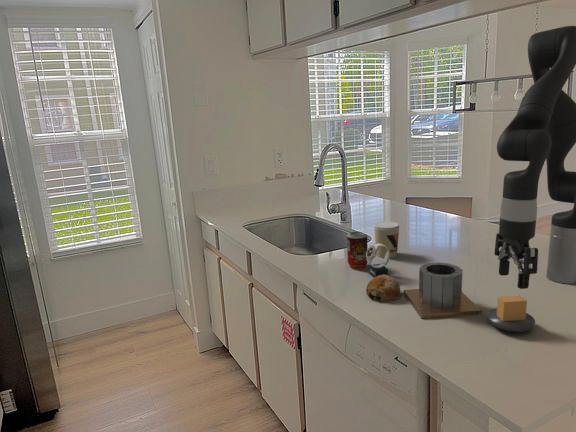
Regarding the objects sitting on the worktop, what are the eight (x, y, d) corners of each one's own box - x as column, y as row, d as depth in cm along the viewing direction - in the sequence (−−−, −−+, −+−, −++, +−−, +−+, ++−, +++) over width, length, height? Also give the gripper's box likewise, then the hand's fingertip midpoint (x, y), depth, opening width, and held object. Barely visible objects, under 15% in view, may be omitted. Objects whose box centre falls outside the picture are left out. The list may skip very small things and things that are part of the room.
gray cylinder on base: (455, 289, 128) (457, 258, 126) (481, 314, 113) (483, 278, 110) (403, 293, 128) (403, 261, 126) (421, 318, 112) (421, 282, 110)
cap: (519, 315, 111) (521, 288, 109) (543, 335, 101) (546, 306, 99) (479, 318, 111) (481, 291, 109) (500, 338, 101) (502, 309, 99)
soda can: (352, 271, 148) (352, 237, 145) (344, 264, 154) (343, 232, 152) (371, 268, 150) (370, 234, 147) (362, 261, 156) (361, 229, 154)
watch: (363, 274, 144) (363, 243, 142) (386, 271, 146) (385, 240, 143) (370, 280, 139) (369, 248, 136) (393, 277, 141) (393, 245, 138)
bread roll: (401, 311, 125) (412, 286, 124) (372, 303, 121) (383, 277, 121) (384, 298, 134) (394, 275, 133) (357, 290, 131) (367, 266, 130)
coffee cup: (391, 260, 156) (391, 229, 153) (369, 256, 162) (369, 225, 159) (403, 253, 162) (403, 223, 159) (382, 249, 168) (381, 220, 166)
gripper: (553, 223, 93) (546, 292, 96) (516, 209, 106) (512, 270, 110) (519, 225, 92) (513, 294, 96) (487, 210, 106) (483, 271, 110)
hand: (512, 281), depth 103 cm, fingers open, 8 cm apart
